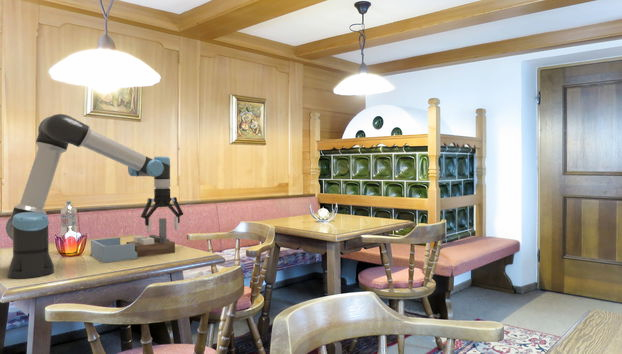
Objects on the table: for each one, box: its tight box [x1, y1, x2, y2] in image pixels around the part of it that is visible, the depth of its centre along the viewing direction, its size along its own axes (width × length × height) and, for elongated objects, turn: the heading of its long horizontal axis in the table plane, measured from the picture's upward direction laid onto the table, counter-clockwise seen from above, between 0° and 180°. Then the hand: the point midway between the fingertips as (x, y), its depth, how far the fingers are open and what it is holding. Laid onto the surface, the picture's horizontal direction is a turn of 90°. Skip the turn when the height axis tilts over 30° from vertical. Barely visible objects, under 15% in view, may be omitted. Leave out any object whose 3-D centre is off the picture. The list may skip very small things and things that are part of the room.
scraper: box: [149, 217, 170, 244], centre depth 219 cm, size 15×6×11 cm, turn 38°
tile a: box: [140, 236, 154, 245], centre depth 211 cm, size 5×5×2 cm
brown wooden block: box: [125, 239, 176, 258], centre depth 216 cm, size 16×18×5 cm
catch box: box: [90, 237, 138, 264], centre depth 205 cm, size 24×14×7 cm, turn 38°
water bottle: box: [60, 200, 78, 236], centre depth 215 cm, size 7×7×25 cm
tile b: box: [133, 235, 148, 243], centre depth 217 cm, size 5×5×2 cm
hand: (162, 231), depth 219 cm, fingers open, 13 cm apart
